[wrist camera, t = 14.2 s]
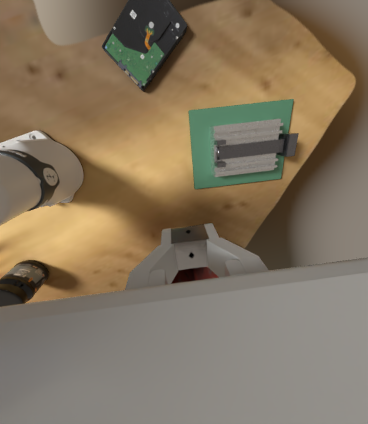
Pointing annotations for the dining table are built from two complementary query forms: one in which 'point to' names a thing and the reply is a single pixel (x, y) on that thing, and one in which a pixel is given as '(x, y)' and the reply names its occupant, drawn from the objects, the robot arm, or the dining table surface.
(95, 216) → the dining table surface
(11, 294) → the supplement container
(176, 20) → the disk drive
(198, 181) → the circuit board
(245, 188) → the dining table surface
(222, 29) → the dining table surface
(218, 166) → the heat sink
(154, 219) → the dining table surface
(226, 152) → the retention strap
